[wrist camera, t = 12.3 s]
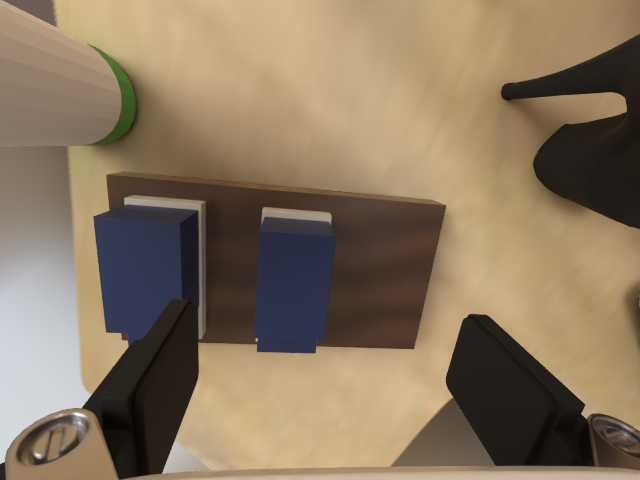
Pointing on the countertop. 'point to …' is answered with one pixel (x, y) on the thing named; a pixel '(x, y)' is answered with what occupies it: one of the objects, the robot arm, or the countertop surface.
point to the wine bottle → (58, 87)
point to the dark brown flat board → (348, 263)
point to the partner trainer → (151, 261)
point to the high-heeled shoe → (594, 136)
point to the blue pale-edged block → (293, 279)
